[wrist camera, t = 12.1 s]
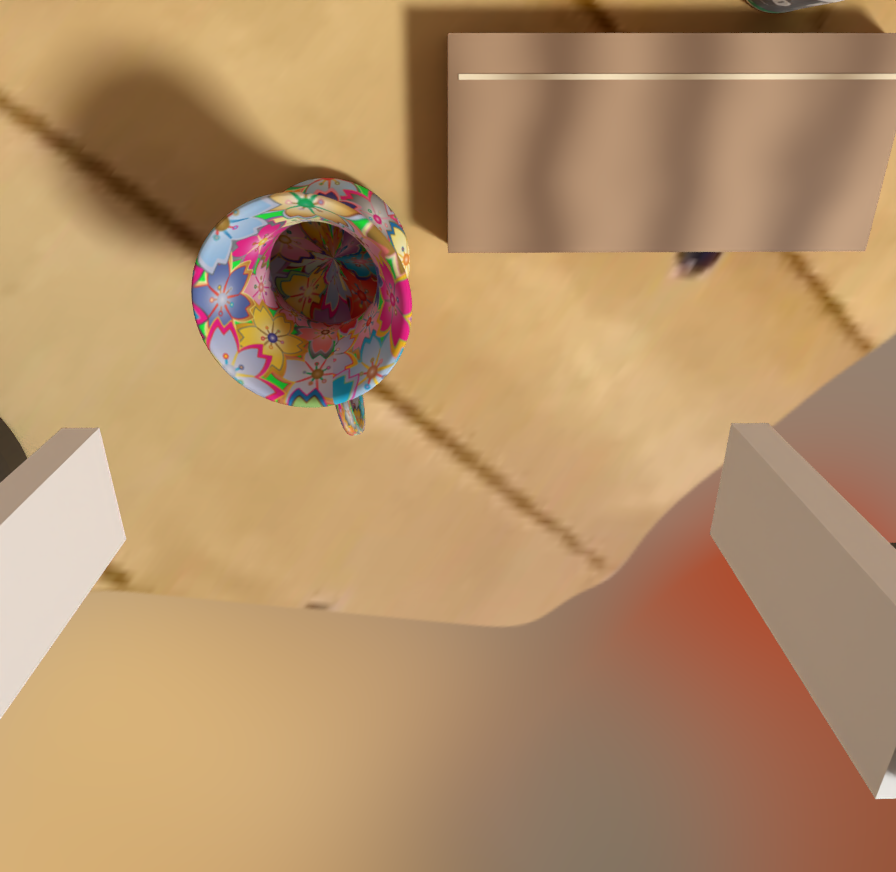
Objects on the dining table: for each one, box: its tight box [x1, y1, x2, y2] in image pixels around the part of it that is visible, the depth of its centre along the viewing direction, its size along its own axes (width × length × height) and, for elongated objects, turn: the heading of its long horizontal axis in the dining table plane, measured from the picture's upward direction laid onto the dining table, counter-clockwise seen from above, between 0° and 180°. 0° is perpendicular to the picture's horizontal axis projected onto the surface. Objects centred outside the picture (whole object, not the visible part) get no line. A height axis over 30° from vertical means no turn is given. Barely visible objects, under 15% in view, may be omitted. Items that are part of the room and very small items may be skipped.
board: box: [447, 33, 896, 253], centre depth 36 cm, size 22×10×3 cm, turn 90°
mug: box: [191, 178, 412, 436], centre depth 35 cm, size 12×9×11 cm
